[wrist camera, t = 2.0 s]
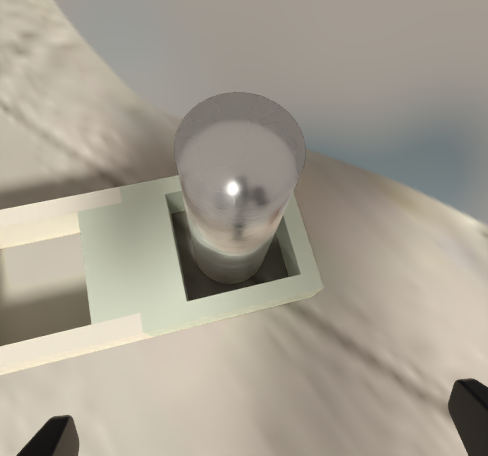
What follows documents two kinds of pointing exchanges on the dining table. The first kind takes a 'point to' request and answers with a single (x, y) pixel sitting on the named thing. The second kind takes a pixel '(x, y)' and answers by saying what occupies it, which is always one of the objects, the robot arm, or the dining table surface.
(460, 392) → the robot arm
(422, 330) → the dining table surface
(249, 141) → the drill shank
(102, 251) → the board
